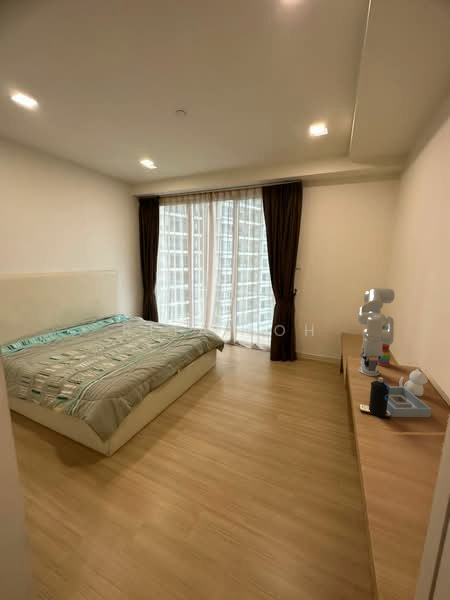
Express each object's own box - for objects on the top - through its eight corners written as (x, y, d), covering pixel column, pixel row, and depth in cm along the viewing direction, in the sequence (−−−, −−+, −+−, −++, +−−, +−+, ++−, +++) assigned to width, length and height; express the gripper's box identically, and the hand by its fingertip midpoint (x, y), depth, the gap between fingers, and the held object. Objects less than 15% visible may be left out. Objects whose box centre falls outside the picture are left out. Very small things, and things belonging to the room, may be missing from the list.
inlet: (386, 399, 132) (386, 395, 132) (400, 399, 132) (401, 395, 131) (395, 409, 124) (396, 404, 124) (411, 409, 124) (412, 404, 123)
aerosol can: (368, 415, 121) (372, 380, 117) (367, 406, 129) (370, 372, 125) (388, 420, 118) (392, 384, 114) (385, 410, 125) (389, 375, 121)
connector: (364, 367, 143) (366, 354, 141) (371, 367, 143) (372, 353, 141) (368, 371, 140) (369, 357, 138) (375, 370, 139) (376, 357, 137)
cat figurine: (426, 400, 132) (431, 375, 129) (399, 394, 138) (403, 371, 135) (422, 391, 140) (426, 368, 137) (396, 386, 146) (400, 364, 143)
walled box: (370, 394, 139) (371, 386, 138) (402, 394, 138) (403, 386, 137) (393, 418, 119) (394, 408, 118) (430, 418, 118) (431, 409, 117)
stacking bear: (386, 361, 179) (389, 338, 175) (393, 367, 169) (396, 344, 166) (371, 360, 181) (373, 338, 178) (376, 366, 171) (379, 343, 168)
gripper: (384, 334, 140) (381, 362, 144) (355, 335, 141) (353, 363, 145) (392, 339, 133) (388, 369, 137) (361, 340, 134) (359, 369, 138)
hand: (370, 365), depth 141 cm, fingers closed on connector, 4 cm apart
